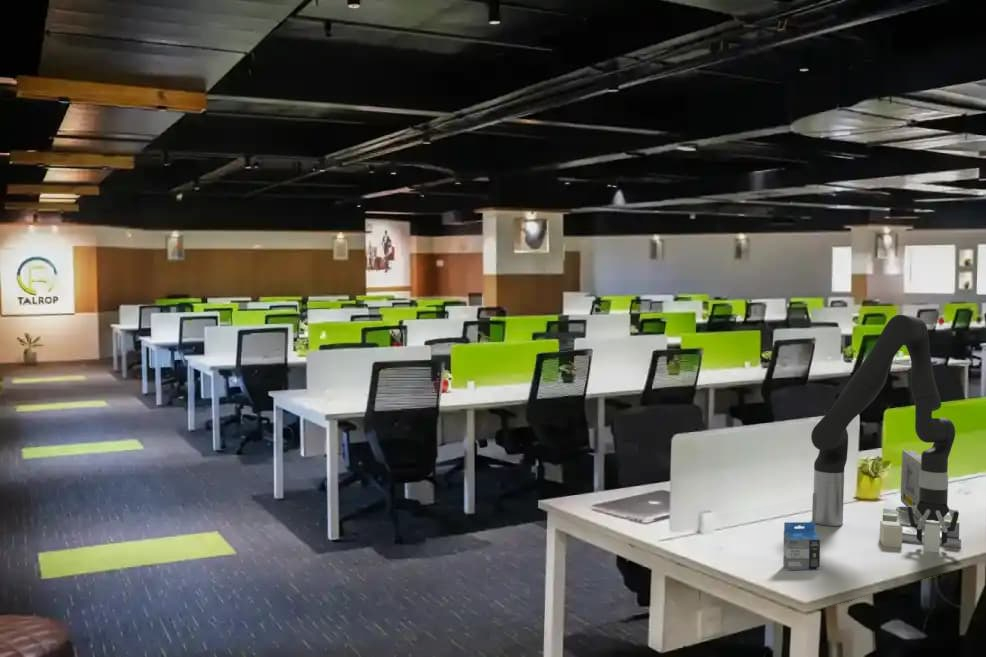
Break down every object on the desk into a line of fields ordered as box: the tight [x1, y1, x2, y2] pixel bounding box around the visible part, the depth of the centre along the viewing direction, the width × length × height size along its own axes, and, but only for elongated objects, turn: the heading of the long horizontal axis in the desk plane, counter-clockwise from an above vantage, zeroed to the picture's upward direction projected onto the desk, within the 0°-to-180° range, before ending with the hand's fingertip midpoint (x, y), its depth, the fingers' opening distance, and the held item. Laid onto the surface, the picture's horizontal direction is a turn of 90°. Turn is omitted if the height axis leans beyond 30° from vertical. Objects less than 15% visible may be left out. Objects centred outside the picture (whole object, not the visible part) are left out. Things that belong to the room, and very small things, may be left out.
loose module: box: [923, 520, 941, 554], centre depth 264 cm, size 4×6×8 cm
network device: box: [895, 450, 922, 523], centre depth 304 cm, size 26×9×20 cm, turn 168°
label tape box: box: [782, 521, 821, 571], centre depth 245 cm, size 9×4×12 cm, turn 93°
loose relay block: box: [879, 520, 903, 548], centre depth 270 cm, size 5×7×6 cm
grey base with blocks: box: [882, 508, 962, 549], centre depth 277 cm, size 22×13×7 cm, turn 66°
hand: (931, 542), depth 265 cm, fingers open, 5 cm apart
